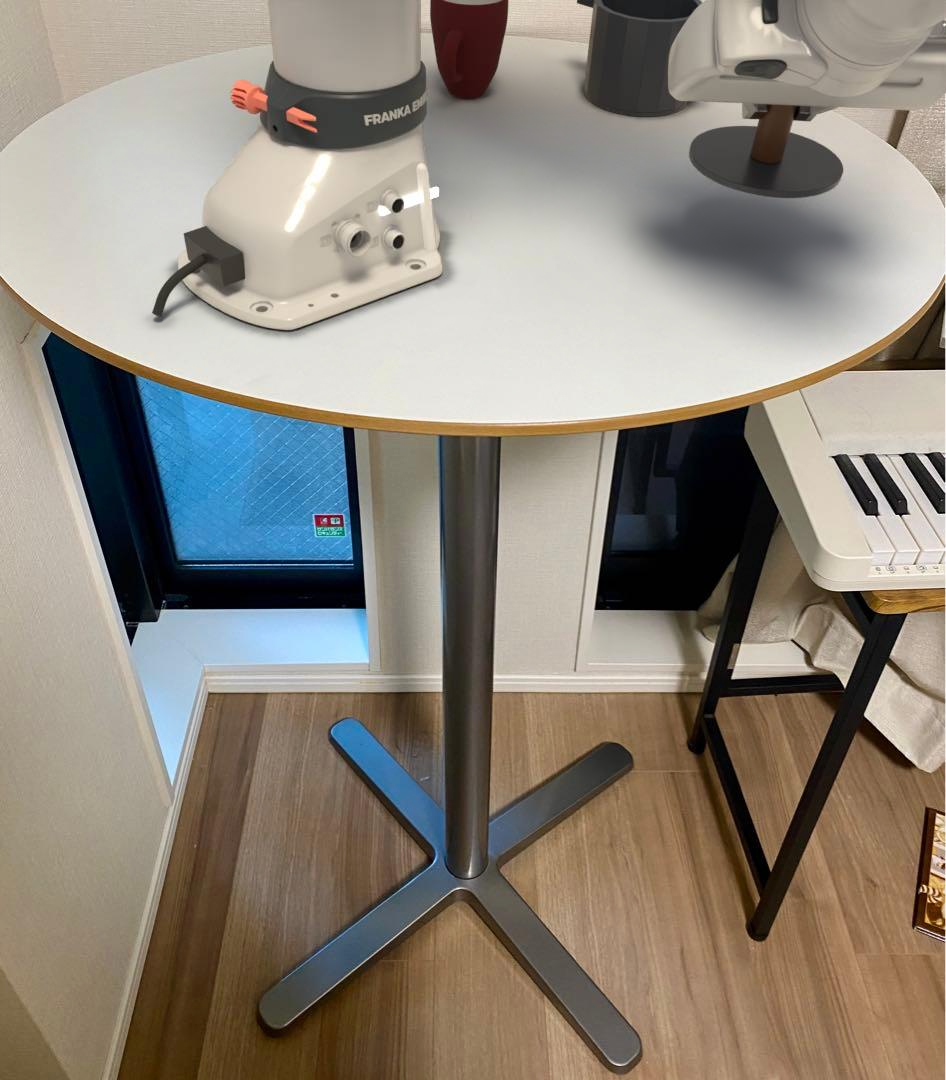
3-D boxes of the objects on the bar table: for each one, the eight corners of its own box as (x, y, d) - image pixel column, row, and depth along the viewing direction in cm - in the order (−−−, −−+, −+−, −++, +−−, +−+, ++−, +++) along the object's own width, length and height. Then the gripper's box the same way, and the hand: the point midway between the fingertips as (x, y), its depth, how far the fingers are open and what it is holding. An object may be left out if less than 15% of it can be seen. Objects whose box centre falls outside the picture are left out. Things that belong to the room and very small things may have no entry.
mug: (492, 119, 104) (497, 16, 96) (416, 111, 104) (416, 8, 97) (508, 82, 111) (514, -16, 104) (438, 74, 112) (439, -24, 105)
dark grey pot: (671, 133, 103) (689, 36, 96) (544, 88, 110) (552, -5, 103) (728, 103, 109) (748, 10, 102) (604, 62, 116) (615, -28, 110)
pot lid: (794, 221, 75) (828, 106, 69) (658, 168, 81) (679, 57, 75) (864, 172, 82) (901, 63, 76) (735, 126, 88) (760, 21, 82)
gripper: (1005, -21, 66) (902, 77, 79) (701, -36, 64) (651, 65, 78) (1003, 74, 66) (901, 155, 79) (699, 61, 64) (649, 145, 78)
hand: (775, 111), depth 79 cm, fingers closed on pot lid, 2 cm apart
